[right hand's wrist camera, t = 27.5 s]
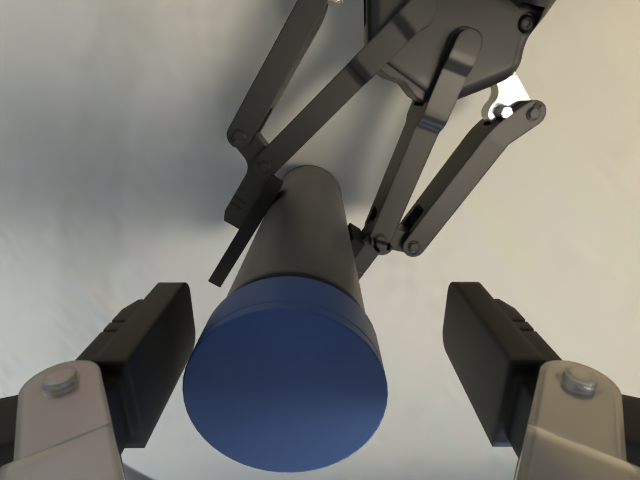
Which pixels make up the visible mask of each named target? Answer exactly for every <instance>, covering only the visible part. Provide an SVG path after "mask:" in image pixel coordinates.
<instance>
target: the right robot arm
mask: <svg viewBox="0 0 640 480" xmlns="http://www.w3.org/2000/svg"><path fill="white" fill-rule="evenodd" d="M194 343H195V325H194V318H193V310H192V302H191V295H190V289H189V286H188V284H187V283H158V284H157V285H156V286H155V287H154V288H153V289H152V291H151V292H150V293H149V294H148V295H147V296H146V298H145V299H144V300H137V301H136V302H134V303H132V304H130V305H129V306H127V307H125V308H124V309H122V310H121V311H120V312H119V314H118V315H117V316H116V317H115V318H114V319H113V320H112V323H109V324H108V325H107V327H106V328H105V329H104V331H103V332H101V333H100V334H99V335H98V336H97V337H96V338H95V340H94V341H93V342H92V343H91V344H90V345H89V346H88V347H87V348H86V349H85V350H84V351H83V352H82V354H81V355H80V356H79V357H78V358H77V359H76V360H75V361H69V362H64V363H61V364H58V365H55V366H52V367H50V368H47V369H45V370H43V371H41V372H40V373H38V374H36V375H35V376H33V377H32V378H31V379H30V380H28V381H27V382H26V383H25V384H24V386H23V387H22V388H21V390H20V392H19V395H15V396H11V397H6V398H1V399H0V480H126V475H125V471H124V466H123V462H122V458H121V454H122V452H123V450H124V448H145V446H146V444H147V442H148V440H149V438H150V436H151V434H152V432H153V430H154V428H155V426H156V424H157V422H158V420H159V418H160V416H161V414H162V412H163V410H164V408H165V406H166V404H167V402H168V400H169V398H170V396H171V394H172V392H173V390H174V388H175V386H176V384H177V382H178V380H179V378H180V376H181V374H182V372H183V370H184V368H185V366H186V364H187V362H188V360H189V358H190V356H191V354H192V351H193V348H194ZM443 343H444V348H445V351H446V353H447V355H448V357H449V359H450V361H451V363H452V365H453V367H454V369H455V371H456V373H457V375H458V377H459V379H460V381H461V384H462V386H463V388H464V390H465V392H466V394H467V396H468V398H469V400H470V402H471V404H472V406H473V408H474V410H475V412H476V414H477V416H478V418H479V420H480V422H481V424H482V426H483V428H484V430H485V432H486V434H487V436H488V438H489V441H490V443H491V445H492V447H513V449H514V451H515V453H516V455H517V456H518V462H517V466H516V471H515V475H514V480H640V398H636V397H632V396H627V395H622V394H621V392H620V390H619V388H618V387H617V386H616V384H615V383H614V382H613V381H612V380H610V379H609V378H608V377H607V376H605V375H604V374H602V373H600V372H599V371H597V370H595V369H593V368H590V367H588V366H585V365H582V364H579V363H576V362H571V361H564V360H562V359H561V358H560V357H559V356H558V355H557V354H556V353H555V352H554V351H553V350H552V348H551V347H550V346H549V345H548V344H547V343H546V342H545V341H544V340H543V339H542V338H541V336H540V335H539V334H538V333H537V332H536V331H534V329H533V328H532V327H531V326H530V324H529V323H528V322H525V319H524V318H523V317H522V316H521V315H520V314H519V312H518V311H517V310H516V309H515V308H513V307H512V306H510V305H508V304H506V303H505V302H503V301H501V300H500V299H493V298H492V296H491V295H490V294H489V293H488V292H487V290H486V289H485V288H484V287H483V286H482V285H481V284H480V283H479V282H451V283H450V285H449V288H448V293H447V301H446V309H445V317H444V324H443Z"/></svg>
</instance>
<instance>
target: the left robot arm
mask: <svg viewBox="0 0 640 480" xmlns="http://www.w3.org/2000/svg"><path fill="white" fill-rule="evenodd" d="M345 1H346V0H297V2H296V4H295V6H294V8H293V10H292V11H291V13H290V15H289V17H288V19H287V21H286V23H285V24H284V26H283V28H282V30H281V32H280V34H279V36H278V37H277V39H276V41H275V43H274V45H273V47H272V49H271V51H270V52H269V54H268V56H267V58H266V60H265V62H264V64H263V65H262V67H261V69H260V71H259V73H258V75H257V77H256V78H255V80H254V82H253V84H252V86H251V88H250V90H249V91H248V93H247V95H246V97H245V99H244V101H243V103H242V104H241V106H240V108H239V110H238V112H237V114H236V116H235V117H234V119H233V121H232V123H231V125H230V127H229V129H228V132H227V139H228V141H229V143H230V144H231V145H232V146H233V147H236V148H237V149H238V150H239V151H240V153H241V154H242V155H243V156H244V158H245V159H246V161H247V164H248V170H247V174H246V176H245V177H244V179H243V181H242V183H241V184H240V186H239V188H238V189H237V191H236V193H235V195H234V196H233V198H232V200H231V202H230V203H229V205H228V207H227V208H226V210H225V216H224V221H226V222H228V223H230V224H231V225H233V226H235V227H236V228H238V229H239V231H238V232H237V234H236V236H235V237H234V239H233V241H232V242H231V244H230V246H229V247H228V249H227V251H226V252H225V254H224V256H223V257H222V259H221V261H220V262H219V264H218V266H217V267H216V269H215V271H214V272H213V274H212V276H211V277H210V279H209V280H208V281H209V282H211V283H213V284H215V285H216V286H218V287H221V285H222V284H223V282H224V280H225V279H226V277H227V276H228V274H229V272H230V271H231V269H232V268H233V266H234V264H235V263H236V261H237V259H238V258H239V256H240V255H241V253H242V251H243V250H244V248H245V247H246V245H247V243H248V242H249V240H250V238H251V237H252V235H253V234H254V232H255V230H256V229H257V227H258V226H259V224H260V222H261V221H262V219H263V217H264V216H265V214H266V213H267V211H268V209H269V208H270V206H271V205H272V203H273V201H274V200H275V198H276V196H277V195H278V193H279V191H280V189H281V187H282V185H283V182H284V181H282V180H281V179H279V178H277V177H276V176H274V174H275V173H276V172H277V171H278V170H279V169H280V168H281V167H282V166H283V165H284V164H285V163H286V162H287V161H288V160H289V159H290V158H291V157H292V156H293V155H294V154H295V153H296V152H297V151H298V150H299V149H300V148H301V147H302V146H303V145H304V144H305V143H306V142H307V141H308V140H309V139H310V138H311V137H312V136H313V135H314V134H315V133H316V132H317V131H318V130H319V129H320V128H321V127H322V126H323V125H324V124H325V123H326V122H327V121H328V120H329V119H330V118H331V117H332V116H333V115H334V114H335V113H336V112H337V111H338V110H339V109H340V108H341V107H342V106H343V105H344V104H345V103H346V102H347V101H348V100H349V99H350V98H351V97H352V96H353V95H354V94H355V93H356V92H357V91H358V90H359V89H360V88H361V87H362V86H364V85H365V84H366V83H367V82H368V81H369V80H370V79H371V78H372V77H373V76H374V75H375V74H378V75H379V76H381V77H382V78H384V79H387V80H390V81H392V82H395V83H397V84H398V85H399V86H400V87H401V89H402V90H403V91H404V92H405V94H406V95H407V96H408V97H410V98H411V99H412V100H413V101H412V103H411V106H410V108H409V111H408V114H407V120H406V123H405V126H404V128H403V131H402V133H401V136H400V138H399V141H398V143H397V146H396V148H395V150H394V153H393V155H392V158H391V160H390V163H389V165H388V168H387V170H386V173H385V175H384V178H383V180H382V182H381V185H380V187H379V190H378V192H377V195H376V197H375V200H374V202H373V205H372V207H371V210H370V212H369V214H368V217H367V219H366V222H365V227H364V228H363V230H362V231H361V230H360V229H359V228H358V227H356V226H354V225H353V224H351V223H349V225H348V230H349V235H350V240H351V245H352V250H353V255H354V260H355V265H356V270H357V275H358V280H359V279H360V278H361V277H362V275H363V274H364V273H365V271H366V270H367V269H368V267H369V266H370V265H371V263H372V262H373V261H374V259H375V258H376V257H377V255H385V254H388V253H389V252H391V250H396V251H401V252H404V253H405V254H406V255H408V256H411V257H416V256H418V255H420V254H421V253H422V252H423V251H424V250H425V249H426V247H427V246H428V245H429V244H430V242H431V241H432V240H433V239H434V237H435V236H436V235H437V234H438V232H439V231H440V230H441V229H442V227H443V226H444V225H445V224H446V222H447V221H448V220H449V219H450V217H451V216H452V215H453V214H454V212H455V211H456V210H457V209H458V207H459V206H460V205H461V204H462V202H463V201H464V200H465V199H466V197H467V196H468V195H469V193H470V192H471V191H472V190H473V188H474V187H475V186H476V185H477V183H478V182H479V181H480V180H481V178H482V177H483V176H484V175H485V173H486V172H487V171H488V170H489V168H490V167H491V166H492V165H493V163H494V162H495V161H496V160H497V158H498V157H499V156H500V155H501V153H502V152H503V151H504V150H505V148H506V147H507V146H508V145H509V144H510V143H512V142H513V141H515V140H516V139H517V138H519V137H520V136H522V135H523V134H525V133H526V132H528V131H529V130H531V129H532V128H533V127H535V126H536V125H538V124H539V123H540V122H541V121H542V120H543V119H544V117H545V115H546V107H545V105H544V104H543V102H541V101H538V100H530V98H529V97H528V95H527V93H526V91H525V89H524V87H523V85H522V83H521V82H520V80H519V78H518V76H517V74H516V72H515V71H516V70H517V68H518V67H519V64H520V62H521V59H522V53H523V49H524V46H525V43H526V41H527V39H528V37H529V35H530V34H531V32H532V31H533V30H534V29H535V27H536V26H537V25H538V24H539V22H540V21H541V20H542V19H543V17H544V16H545V15H546V13H547V12H548V11H549V9H550V8H551V7H552V5H553V4H554V2H555V1H556V0H364V48H363V49H362V50H361V51H360V52H359V53H358V54H357V55H356V56H355V57H354V58H353V59H352V60H351V61H350V62H349V63H348V64H347V65H346V66H345V67H344V68H343V69H342V70H341V71H340V72H339V73H338V74H337V75H336V76H335V77H334V78H333V79H332V80H331V82H330V83H329V84H328V85H327V86H326V87H325V88H324V89H323V90H322V91H321V92H320V93H319V94H318V95H317V96H316V97H315V98H314V99H313V100H312V101H311V102H310V103H309V104H308V105H307V106H306V107H305V108H304V109H303V110H302V111H301V112H300V113H299V114H298V115H297V116H296V117H295V118H294V119H293V120H292V121H291V122H290V123H289V124H288V125H287V126H286V127H285V129H284V130H283V131H282V132H281V133H280V134H279V135H278V136H277V137H276V138H275V139H274V140H273V141H272V142H271V143H270V144H269V143H268V142H267V141H266V140H265V138H264V137H263V136H262V135H261V133H260V132H261V130H262V128H263V127H264V125H265V123H266V121H267V120H268V118H269V116H270V114H271V113H272V111H273V109H274V107H275V106H276V104H277V102H278V100H279V98H280V97H281V95H282V93H283V91H284V90H285V88H286V86H287V84H288V83H289V81H290V79H291V77H292V76H293V74H294V72H295V70H296V68H297V67H298V65H299V63H300V61H301V60H302V58H303V56H304V54H305V53H306V51H307V49H308V47H309V46H310V44H311V42H312V40H313V39H314V37H315V35H316V33H317V31H318V30H319V28H320V26H321V24H322V22H323V20H324V17H325V14H326V12H327V9H328V6H331V7H338V6H340V5H342V4H343V3H344V2H345ZM488 87H491V96H490V98H489V100H488V101H487V102H486V103H485V105H484V106H483V108H482V112H481V114H482V118H483V119H482V120H480V121H479V122H478V123H477V124H476V125H475V126H474V127H473V128H472V129H471V130H470V131H469V133H468V134H467V135H466V136H465V138H464V139H463V140H462V142H461V143H460V144H459V146H458V147H457V148H456V150H455V151H454V152H453V154H452V155H451V156H450V158H449V159H448V160H447V161H446V163H445V164H444V165H443V167H442V168H441V169H440V171H439V172H438V173H437V175H436V176H435V177H434V179H433V180H432V181H431V183H430V184H429V185H428V187H427V188H426V189H425V191H424V192H423V193H422V195H421V196H420V197H419V199H418V200H417V201H416V203H415V204H414V205H413V207H412V208H411V209H410V211H409V212H408V213H407V215H406V216H405V217H404V219H403V220H402V221H401V223H400V220H401V218H402V216H403V213H404V211H405V209H406V207H407V204H408V202H409V200H410V197H411V195H412V193H413V191H414V188H415V186H416V184H417V181H418V179H419V177H420V175H421V172H422V170H423V168H424V166H425V163H426V161H427V159H428V156H429V154H430V152H431V150H432V147H433V145H434V143H435V140H436V138H437V136H438V134H439V132H440V131H441V130H442V129H443V128H444V126H445V125H446V123H447V121H448V119H449V116H450V114H451V112H452V110H453V107H454V105H455V103H456V100H458V99H460V98H463V97H465V96H468V95H470V94H473V93H475V92H478V91H480V90H483V89H486V88H488Z"/></svg>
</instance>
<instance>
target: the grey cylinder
mask: <svg viewBox="0 0 640 480" xmlns="http://www.w3.org/2000/svg"><path fill="white" fill-rule="evenodd" d="M282 181H284V182H283V185H282V187H281V189H280V191H279V193H278V195H277V196H276V198H275V200H274V201H273V203H272V205H271V206H270V208H269V209H268V211H267V213H266V214H265V216H264V219H263V221H262V223H261V225H260V227H259V229H258V231H257V233H256V236H255V238H254V240H253V242H252V244H251V246H250V248H249V251H248V253H247V255H246V257H245V259H244V261H243V263H242V265H241V268H240V270H239V272H238V274H237V276H236V278H235V280H234V282H233V285H232V287H231V289H230V291H229V293H228V295H227V297H228V296H229V295H230V294H232V293H233V292H235V291H236V290H238V289H240V288H242V287H244V286H246V285H248V284H250V283H253V282H256V281H259V280H263V279H267V278H272V277H283V276H291V277H303V278H309V279H313V280H317V281H320V282H323V283H325V284H328V285H330V286H333V287H334V288H336V289H338V290H340V291H342V292H343V293H345V294H346V295H347V296H349V297H350V298H351V299H353V300H354V301H355V302H356V303H357V304H358V305H359V306H360V307H361V308H362V310H363V311H364V312H365V309H364V305H363V300H362V295H361V290H360V285H359V280H358V275H357V270H356V265H355V260H354V255H353V250H352V245H351V240H350V235H349V230H348V226H347V221H346V216H345V211H344V206H343V201H342V196H341V191H340V187H339V185H338V183H337V181H336V179H335V178H334V177H333V176H332V175H331V174H330V173H329V172H328V171H326V170H324V169H323V168H320V167H317V166H311V165H309V166H301V167H297V168H295V169H293V170H291V171H290V172H289V173H287V174H286V175H285V176H284V178H283V179H282ZM227 297H226V298H227Z"/></svg>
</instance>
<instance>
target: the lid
mask: <svg viewBox="0 0 640 480" xmlns="http://www.w3.org/2000/svg"><path fill="white" fill-rule="evenodd" d="M183 397H184V403H185V406H186V410H187V413H188V415H189V417H190V419H191V421H192V423H193V424H194V426H195V428H196V429H197V431H198V432H199V433H200V434H201V435H202V437H203V438H204V439H205V440H206V441H207V442H208V443H209V444H210V445H211V446H213V447H214V448H215V449H217V450H218V451H219V452H221V453H222V454H224V455H226V456H227V457H229V458H231V459H233V460H235V461H237V462H239V463H242V464H244V465H247V466H250V467H253V468H257V469H261V470H266V471H273V472H290V473H291V472H304V471H310V470H316V469H320V468H323V467H327V466H329V465H332V464H335V463H337V462H339V461H341V460H343V459H345V458H347V457H349V456H350V455H352V454H353V453H355V452H356V451H357V450H359V449H360V448H361V447H362V446H363V445H364V444H365V443H366V442H367V441H368V440H369V439H370V438H371V437H372V436H373V434H374V433H375V431H376V430H377V428H378V427H379V425H380V422H381V420H382V418H383V416H384V412H385V409H386V405H387V397H388V391H387V381H386V376H385V372H384V367H383V363H382V359H381V354H380V350H379V345H378V341H377V337H376V333H375V331H374V328H373V325H372V323H371V322H370V320H369V318H368V316H367V315H366V314H365V312H364V311H363V310H362V308H361V307H360V306H359V305H358V304H357V303H356V302H355V301H354V300H353V299H351V298H350V297H349V296H347V295H346V294H345V293H343V292H342V291H340V290H338V289H336V288H334V287H333V286H330V285H328V284H325V283H323V282H320V281H317V280H313V279H309V278H303V277H291V276H283V277H272V278H267V279H263V280H259V281H256V282H253V283H250V284H248V285H246V286H244V287H242V288H240V289H238V290H236V291H235V292H233V293H232V294H230V295H229V296H228V297H227V298H226V299H224V300H223V301H222V302H221V303H220V304H219V305H218V307H217V308H216V309H215V310H214V312H213V313H212V315H211V317H210V318H209V320H208V322H207V324H206V326H205V328H204V330H203V332H202V334H201V336H200V338H199V340H198V342H197V344H196V346H195V348H194V350H193V352H192V354H191V356H190V358H189V360H188V363H187V365H186V368H185V372H184V377H183Z"/></svg>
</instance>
